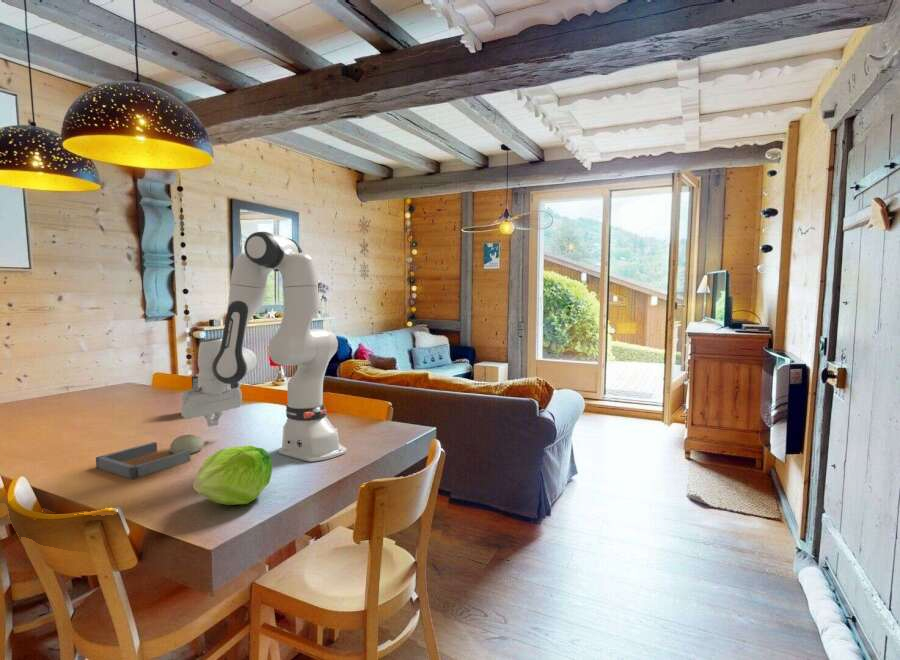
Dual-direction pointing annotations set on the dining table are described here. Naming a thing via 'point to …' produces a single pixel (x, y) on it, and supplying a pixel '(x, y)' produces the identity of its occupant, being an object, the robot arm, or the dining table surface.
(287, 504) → the dining table surface
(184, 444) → the sea urchin shell
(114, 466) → the bay
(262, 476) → the lettuce
